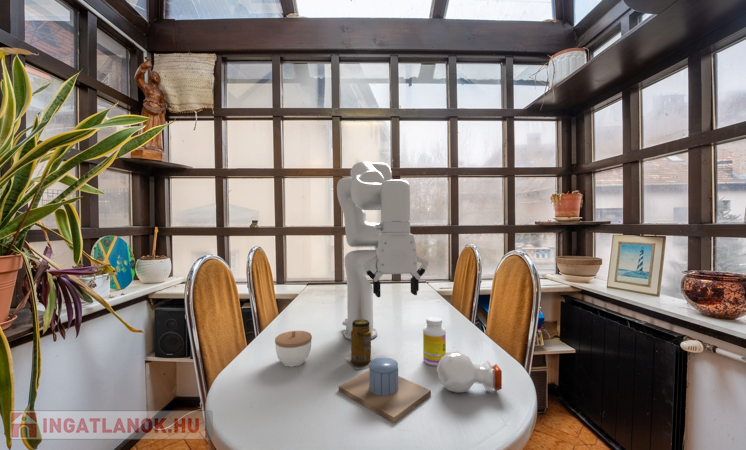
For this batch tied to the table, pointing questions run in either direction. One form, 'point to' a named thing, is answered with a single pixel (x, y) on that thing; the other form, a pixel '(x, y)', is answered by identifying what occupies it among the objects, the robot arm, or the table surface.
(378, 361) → the cap
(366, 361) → the condiment
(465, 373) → the potion bottle
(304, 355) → the lidded jar
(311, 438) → the table surface
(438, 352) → the supplement bottle
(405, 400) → the post base
